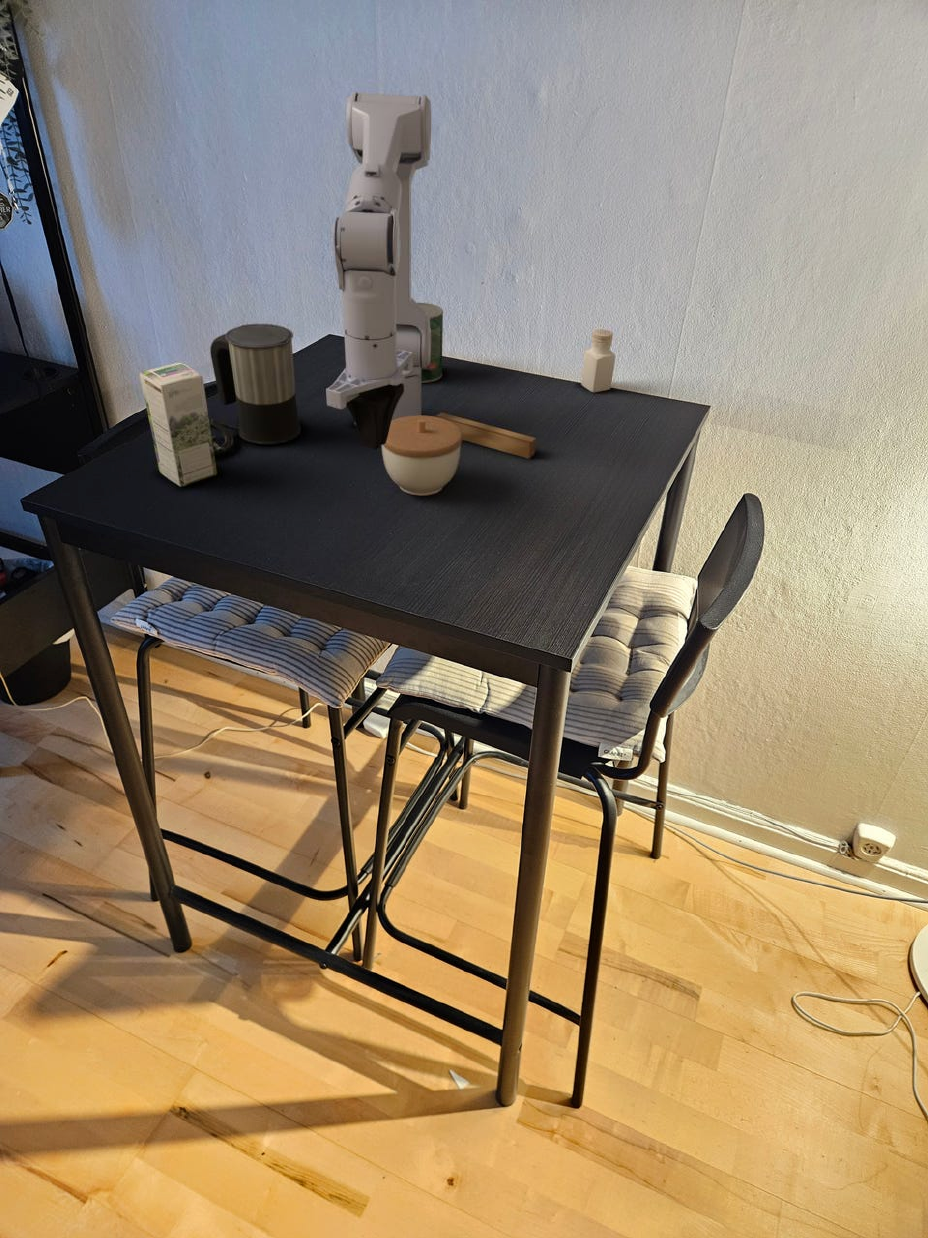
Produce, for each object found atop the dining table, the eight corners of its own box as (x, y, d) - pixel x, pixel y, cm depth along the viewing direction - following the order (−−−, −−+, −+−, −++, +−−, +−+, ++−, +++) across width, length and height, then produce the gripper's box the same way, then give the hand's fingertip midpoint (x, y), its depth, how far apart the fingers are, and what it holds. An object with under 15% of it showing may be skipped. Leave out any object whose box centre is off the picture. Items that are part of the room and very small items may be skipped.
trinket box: (451, 509, 109) (453, 443, 103) (372, 498, 111) (369, 432, 105) (467, 471, 117) (469, 408, 112) (393, 461, 119) (392, 399, 113)
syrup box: (196, 460, 117) (178, 359, 108) (219, 475, 114) (202, 372, 105) (159, 473, 114) (137, 369, 105) (181, 489, 111) (160, 384, 102)
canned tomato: (449, 370, 146) (451, 307, 140) (429, 386, 141) (430, 320, 134) (409, 362, 149) (409, 299, 142) (388, 377, 143) (386, 312, 136)
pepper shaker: (579, 385, 143) (586, 329, 138) (598, 381, 145) (606, 326, 139) (592, 394, 141) (599, 337, 135) (611, 390, 142) (620, 334, 136)
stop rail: (434, 431, 127) (434, 415, 125) (441, 427, 128) (441, 410, 127) (528, 458, 121) (530, 441, 119) (534, 453, 123) (536, 436, 121)
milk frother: (311, 424, 128) (303, 327, 119) (266, 470, 116) (253, 366, 106) (227, 411, 130) (212, 315, 121) (174, 455, 118) (153, 352, 109)
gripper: (362, 358, 85) (366, 477, 94) (435, 320, 95) (434, 430, 104) (307, 344, 88) (316, 461, 96) (384, 308, 98) (386, 416, 106)
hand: (374, 444), depth 100 cm, fingers closed
